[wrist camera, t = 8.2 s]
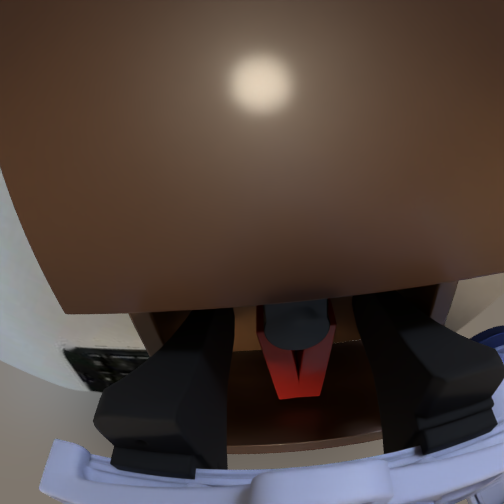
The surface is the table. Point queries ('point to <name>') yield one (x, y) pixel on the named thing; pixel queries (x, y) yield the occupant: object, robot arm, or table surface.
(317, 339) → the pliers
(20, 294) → the table surface
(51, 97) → the cabinet
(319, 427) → the drawer
